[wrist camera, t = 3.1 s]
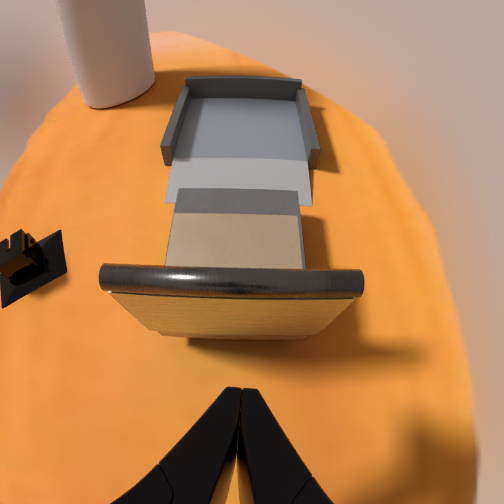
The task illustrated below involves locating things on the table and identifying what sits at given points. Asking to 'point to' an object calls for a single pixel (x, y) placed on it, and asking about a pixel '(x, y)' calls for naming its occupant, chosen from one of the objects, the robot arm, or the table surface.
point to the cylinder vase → (108, 49)
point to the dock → (241, 136)
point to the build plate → (29, 264)
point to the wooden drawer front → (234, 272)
